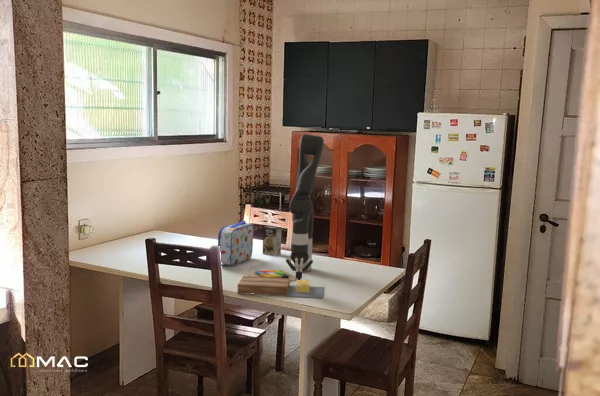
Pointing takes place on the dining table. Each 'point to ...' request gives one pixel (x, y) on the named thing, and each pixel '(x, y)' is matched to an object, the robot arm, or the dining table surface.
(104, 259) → the dining table surface
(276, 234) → the coffee box
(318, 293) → the slate mat
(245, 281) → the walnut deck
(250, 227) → the lunch box
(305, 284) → the ochre tile
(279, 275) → the wooden puzzle
